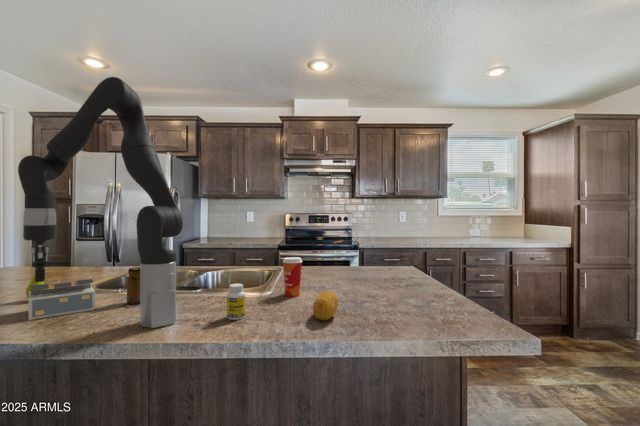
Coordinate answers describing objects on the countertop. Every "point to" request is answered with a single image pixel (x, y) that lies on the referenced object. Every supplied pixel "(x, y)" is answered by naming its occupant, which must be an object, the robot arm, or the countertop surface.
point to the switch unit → (61, 301)
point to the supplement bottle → (236, 302)
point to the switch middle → (61, 284)
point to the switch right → (83, 282)
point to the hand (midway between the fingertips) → (39, 281)
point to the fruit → (31, 285)
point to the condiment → (133, 287)
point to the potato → (325, 305)
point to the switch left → (39, 287)
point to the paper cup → (292, 275)
